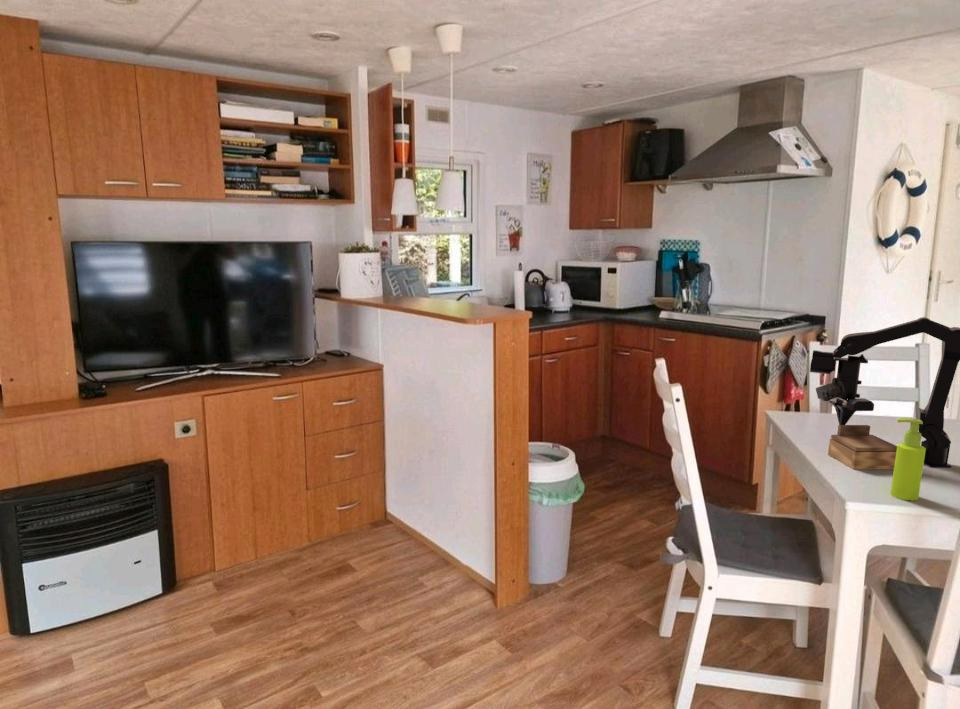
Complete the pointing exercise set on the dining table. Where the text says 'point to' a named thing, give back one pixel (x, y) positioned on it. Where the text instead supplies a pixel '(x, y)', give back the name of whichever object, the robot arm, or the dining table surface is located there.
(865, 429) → the lid
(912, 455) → the soap dispenser
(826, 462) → the dining table surface
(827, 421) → the dining table surface
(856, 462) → the wooden box
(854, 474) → the dining table surface
